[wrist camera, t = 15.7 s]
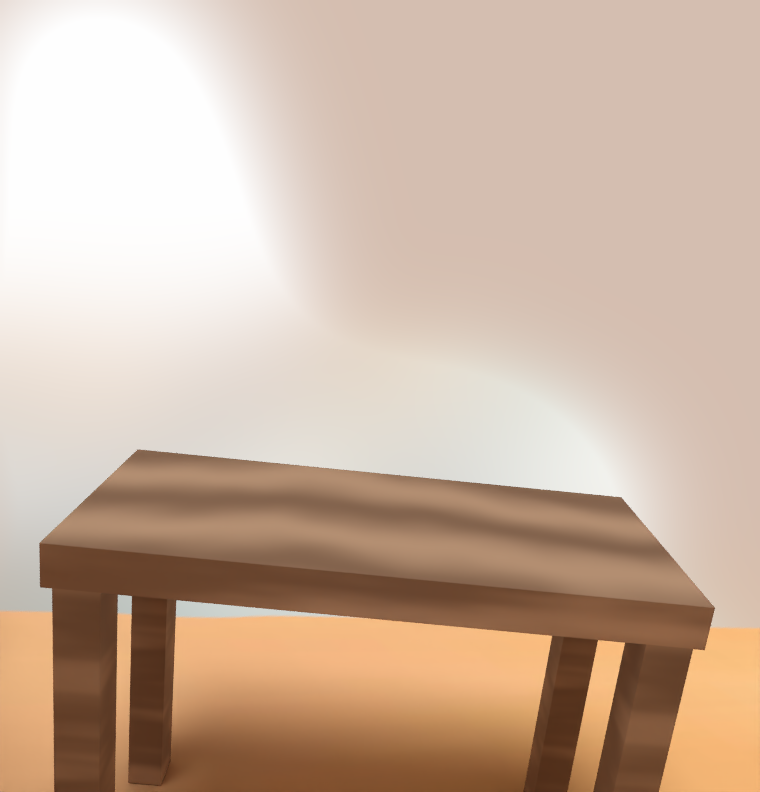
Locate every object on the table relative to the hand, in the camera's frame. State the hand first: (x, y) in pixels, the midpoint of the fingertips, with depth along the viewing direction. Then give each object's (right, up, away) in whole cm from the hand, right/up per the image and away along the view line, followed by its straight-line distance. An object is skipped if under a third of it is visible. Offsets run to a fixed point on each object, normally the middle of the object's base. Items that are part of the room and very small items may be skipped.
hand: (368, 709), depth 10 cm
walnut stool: (-2, -22, +30) cm, 37 cm away
